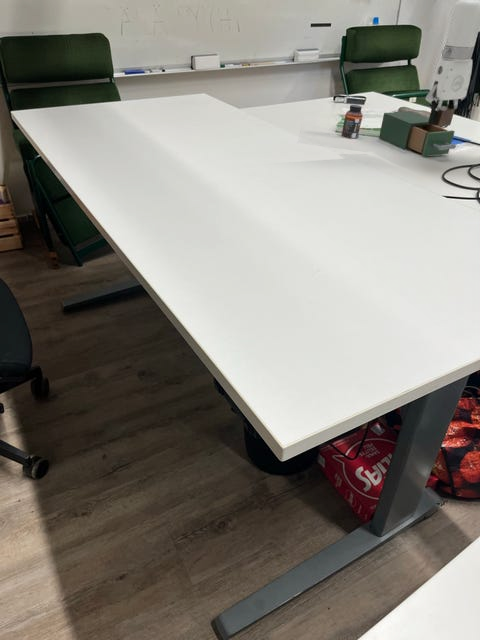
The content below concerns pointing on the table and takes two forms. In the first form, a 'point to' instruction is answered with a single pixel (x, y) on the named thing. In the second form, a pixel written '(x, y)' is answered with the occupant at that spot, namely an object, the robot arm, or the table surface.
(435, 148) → the drawer
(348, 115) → the supplement bottle
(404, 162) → the table surface
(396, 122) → the cabinet
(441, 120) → the block
